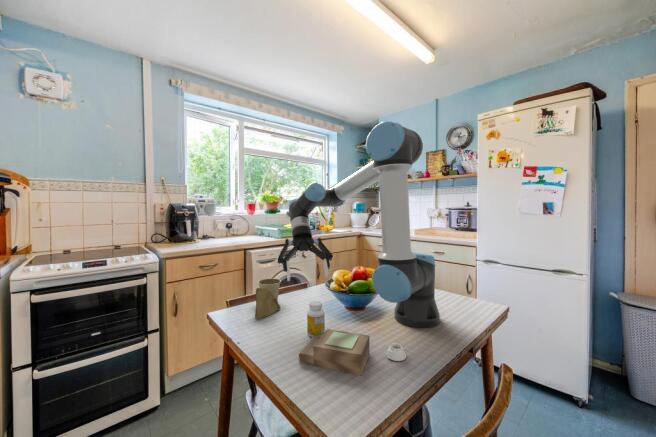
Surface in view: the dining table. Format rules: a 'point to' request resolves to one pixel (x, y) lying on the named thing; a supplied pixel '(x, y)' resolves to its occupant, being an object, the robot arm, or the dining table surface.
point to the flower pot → (271, 285)
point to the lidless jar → (396, 352)
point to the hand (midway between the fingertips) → (308, 277)
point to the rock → (265, 303)
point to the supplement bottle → (315, 319)
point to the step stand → (337, 351)
